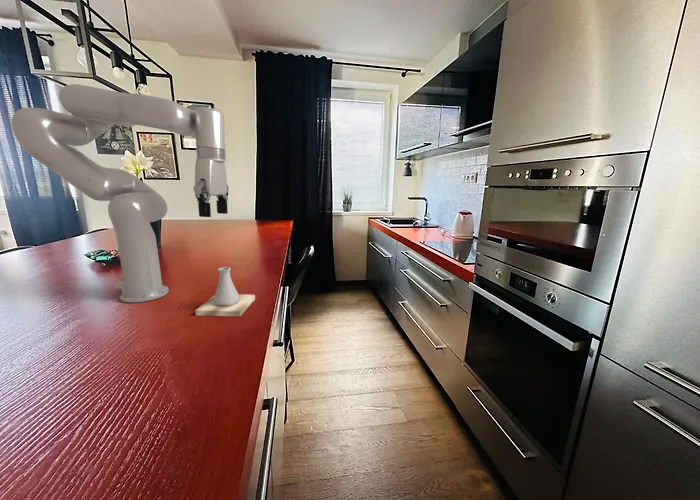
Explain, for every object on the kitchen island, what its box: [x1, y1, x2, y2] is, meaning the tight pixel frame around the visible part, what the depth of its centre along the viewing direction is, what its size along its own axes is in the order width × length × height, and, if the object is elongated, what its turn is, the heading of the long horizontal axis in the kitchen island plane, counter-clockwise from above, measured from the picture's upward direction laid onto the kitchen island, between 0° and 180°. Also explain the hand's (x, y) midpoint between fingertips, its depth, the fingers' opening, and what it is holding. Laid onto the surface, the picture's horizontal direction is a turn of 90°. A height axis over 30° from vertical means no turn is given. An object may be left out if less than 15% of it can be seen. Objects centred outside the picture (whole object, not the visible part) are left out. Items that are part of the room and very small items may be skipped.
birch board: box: [195, 293, 256, 318], centre depth 85 cm, size 12×12×2 cm
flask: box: [212, 266, 241, 306], centre depth 84 cm, size 7×7×10 cm
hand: (214, 215), depth 88 cm, fingers open, 9 cm apart
